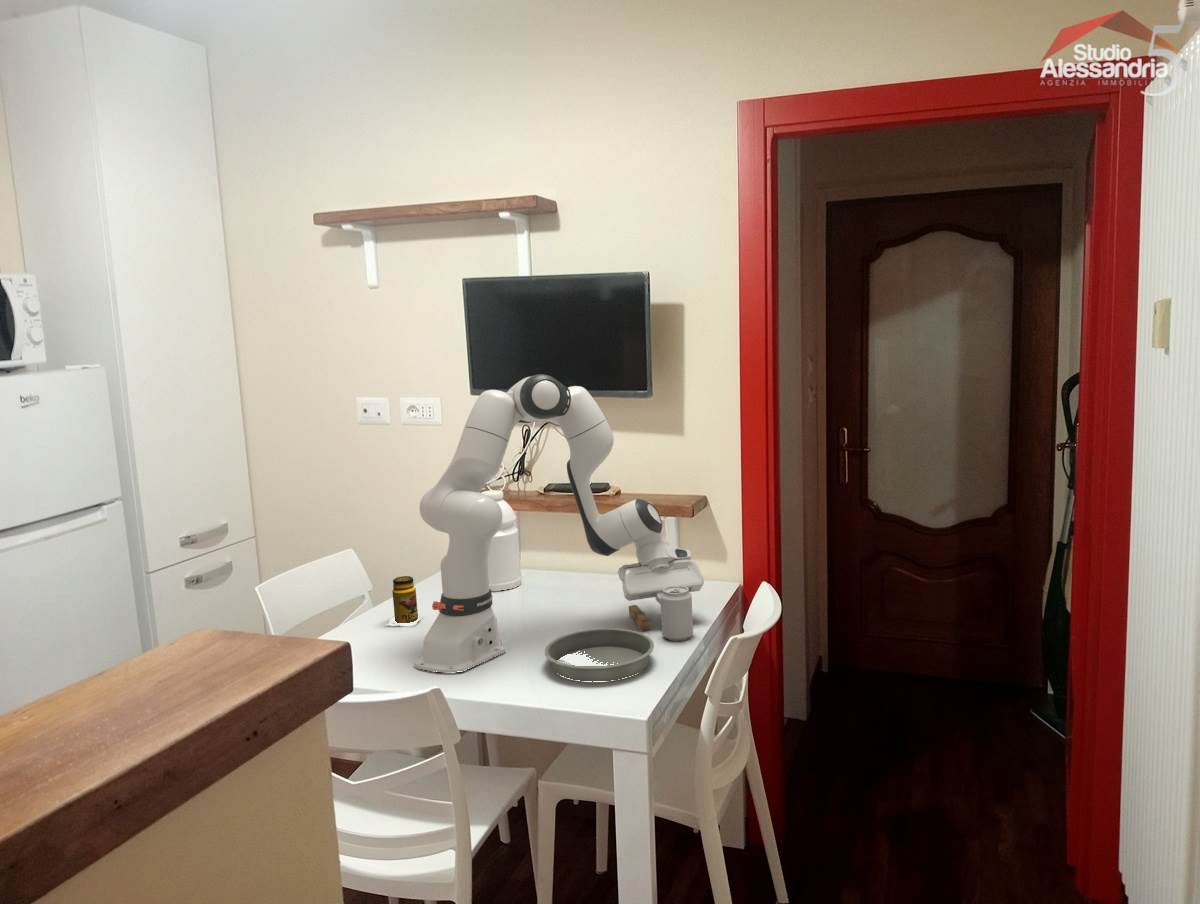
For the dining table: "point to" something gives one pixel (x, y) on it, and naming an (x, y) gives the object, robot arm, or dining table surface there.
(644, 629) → the parallel wooden bars
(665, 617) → the can
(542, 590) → the dining table surface
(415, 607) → the condiment
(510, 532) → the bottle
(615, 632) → the cake pan
